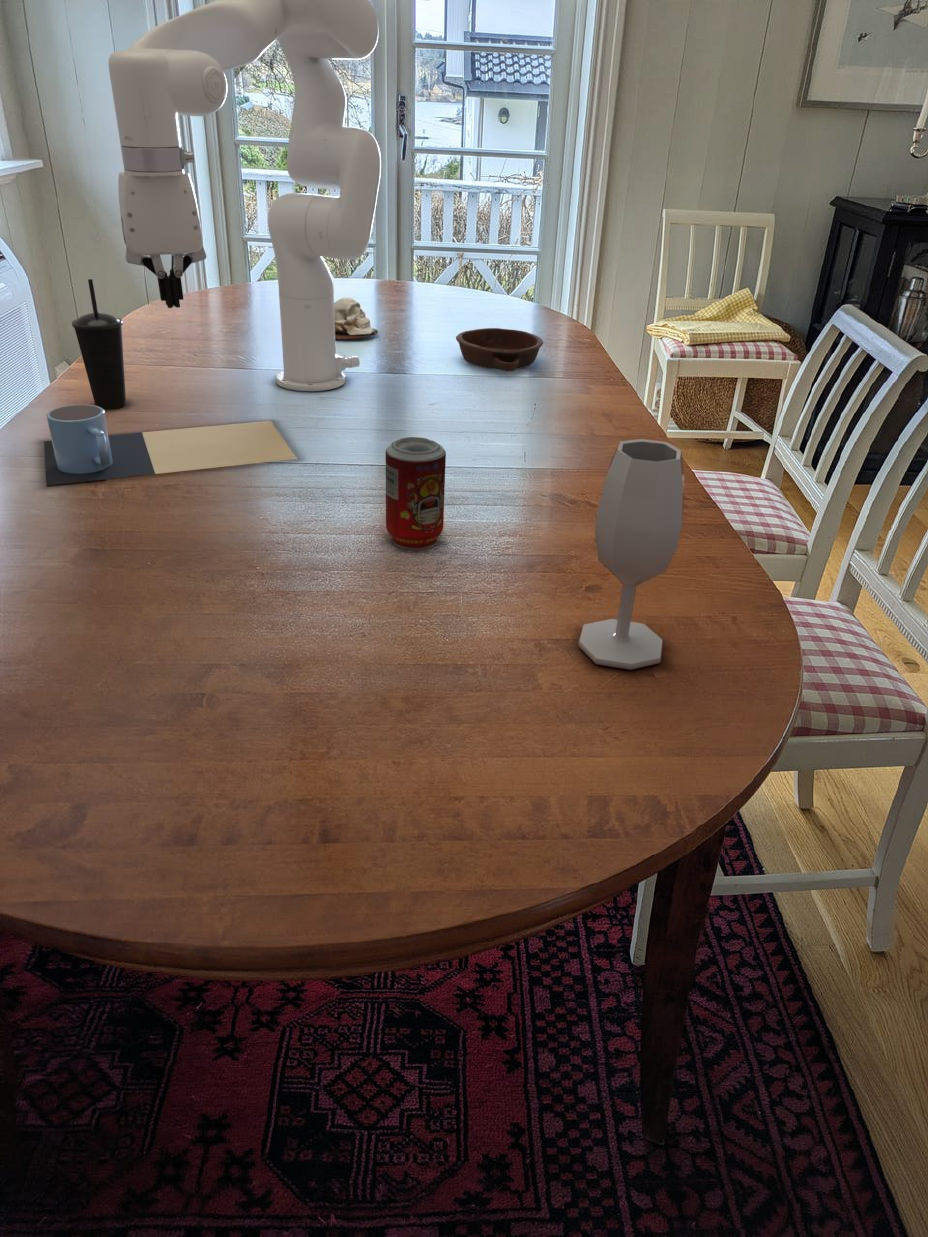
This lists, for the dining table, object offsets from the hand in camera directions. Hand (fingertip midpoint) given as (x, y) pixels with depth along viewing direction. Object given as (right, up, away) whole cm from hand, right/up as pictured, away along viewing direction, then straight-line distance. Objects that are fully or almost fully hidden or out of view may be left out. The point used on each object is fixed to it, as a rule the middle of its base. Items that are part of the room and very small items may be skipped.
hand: (172, 305), depth 129 cm
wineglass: (+57, -48, -37) cm, 83 cm away
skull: (+16, +17, +70) cm, 74 cm away
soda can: (+35, -35, -17) cm, 52 cm away
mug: (-11, -23, -1) cm, 26 cm away
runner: (-2, -20, +6) cm, 21 cm away
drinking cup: (-18, -9, +23) cm, 30 cm away
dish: (+48, +7, +55) cm, 73 cm away
